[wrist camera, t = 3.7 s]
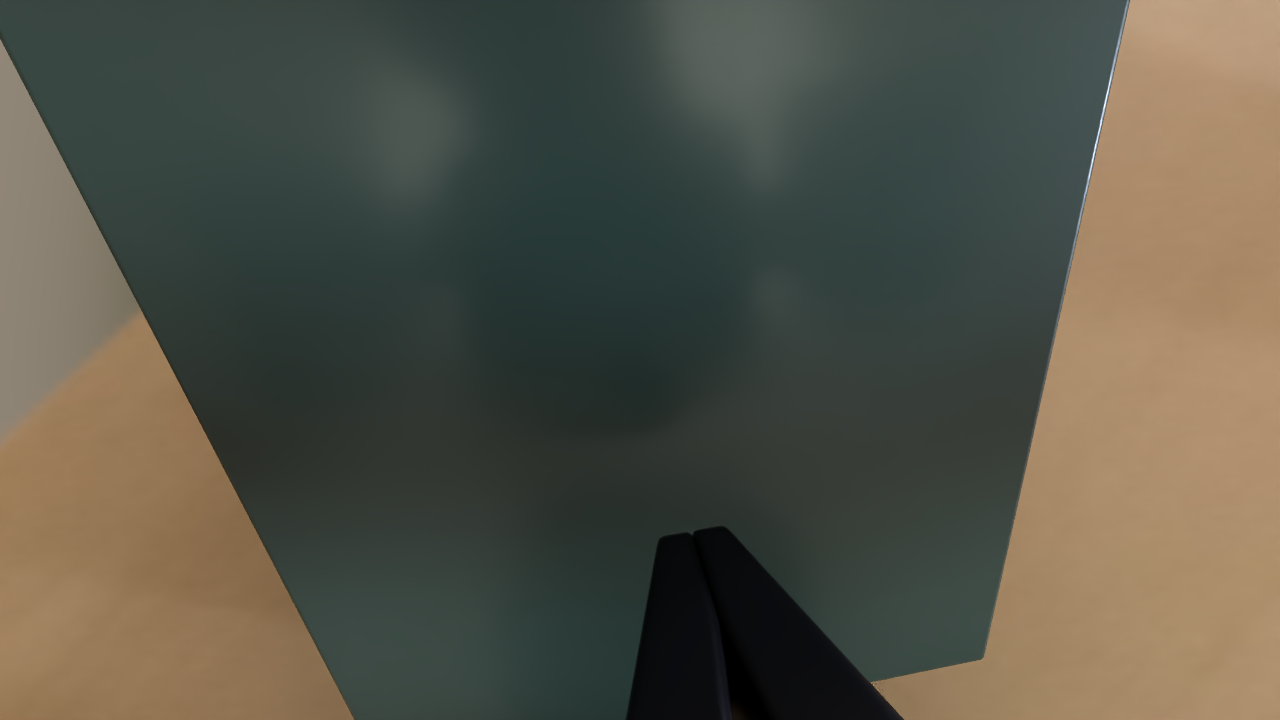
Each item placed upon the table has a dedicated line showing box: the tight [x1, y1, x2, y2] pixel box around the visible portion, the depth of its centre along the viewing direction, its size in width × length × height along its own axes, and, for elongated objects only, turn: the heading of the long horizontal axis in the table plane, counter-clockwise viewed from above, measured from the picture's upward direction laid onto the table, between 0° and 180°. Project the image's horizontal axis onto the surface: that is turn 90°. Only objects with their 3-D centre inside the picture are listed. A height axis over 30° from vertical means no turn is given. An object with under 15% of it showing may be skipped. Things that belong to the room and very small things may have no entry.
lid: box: [0, 0, 1130, 720], centre depth 11 cm, size 13×12×1 cm
